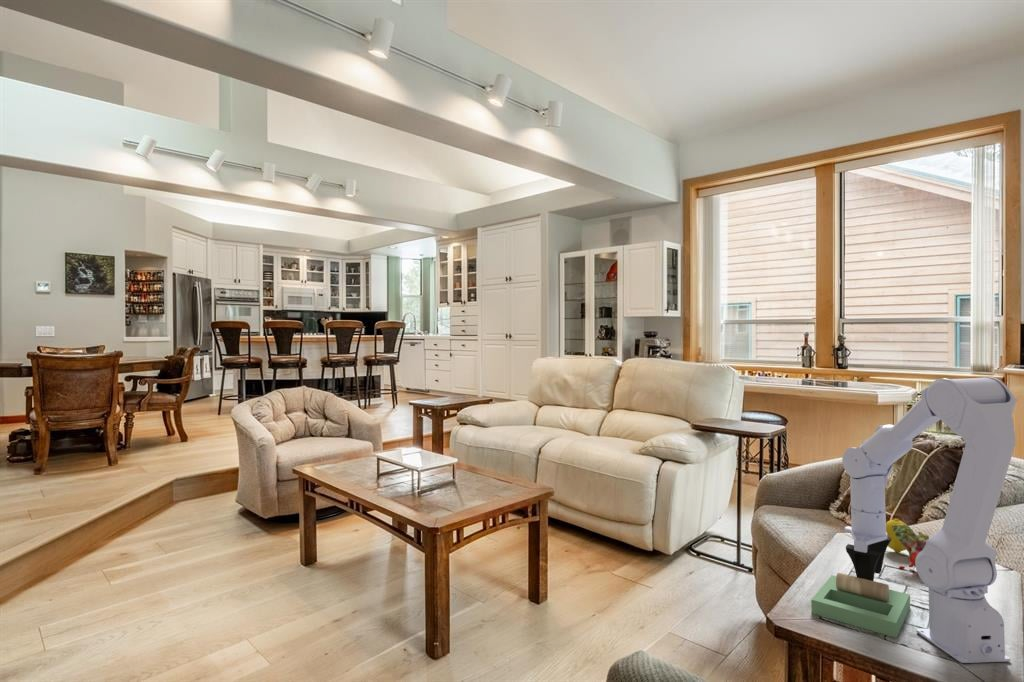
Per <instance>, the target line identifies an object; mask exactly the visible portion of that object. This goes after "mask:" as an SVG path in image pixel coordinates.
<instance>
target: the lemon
mask: <svg viewBox="0 0 1024 682" xmlns="http://www.w3.org/2000/svg"><path fill="white" fill-rule="evenodd" d="M898 524H906V523H905V522H903V521H902V520H900V519H899V518H893V519H891V520H887V521H886V533H887V536H889V537H891V541H890V543H889V545H888V547H887V548H889V549H890V550H893V551H894V553H896V554H900V553H901V552H903V551H907V550H906V549H905V548H904V546H903V545H902V543H901V542H900V541H899V540H898V538H897V537H896V536H895V532H894V531H893V529H892V526H893V525H898Z"/></svg>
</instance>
